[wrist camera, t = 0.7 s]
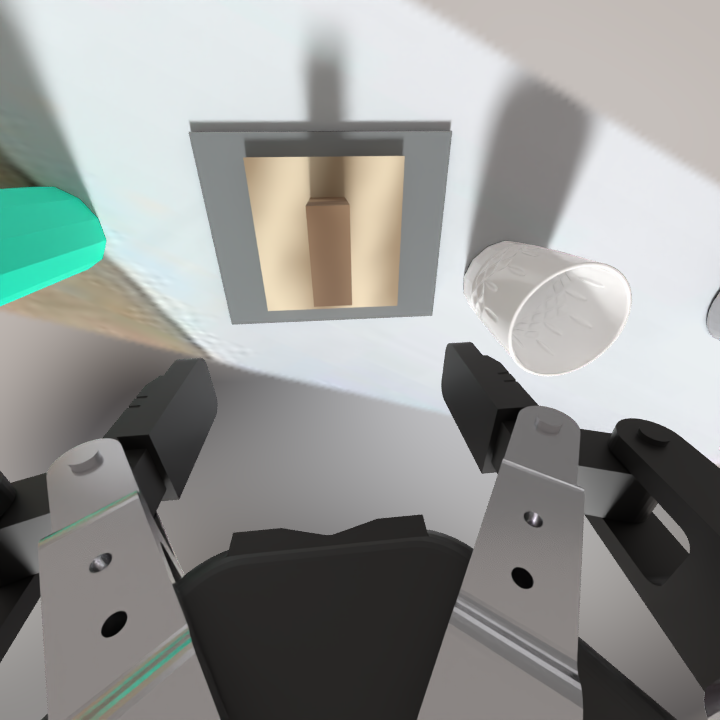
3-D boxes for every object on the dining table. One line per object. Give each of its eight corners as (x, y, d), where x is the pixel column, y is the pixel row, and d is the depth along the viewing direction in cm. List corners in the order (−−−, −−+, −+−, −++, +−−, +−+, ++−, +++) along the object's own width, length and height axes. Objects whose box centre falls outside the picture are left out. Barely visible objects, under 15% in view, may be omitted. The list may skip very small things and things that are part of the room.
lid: (401, 156, 24) (427, 152, 18) (395, 301, 29) (413, 336, 23) (246, 157, 23) (217, 154, 17) (269, 306, 28) (254, 343, 22)
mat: (449, 131, 24) (451, 130, 23) (430, 313, 31) (432, 315, 30) (191, 132, 22) (188, 132, 22) (233, 322, 29) (232, 324, 29)
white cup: (552, 291, 31) (640, 339, 22) (474, 334, 32) (528, 394, 24) (528, 213, 27) (622, 235, 18) (442, 266, 29) (491, 308, 20)
